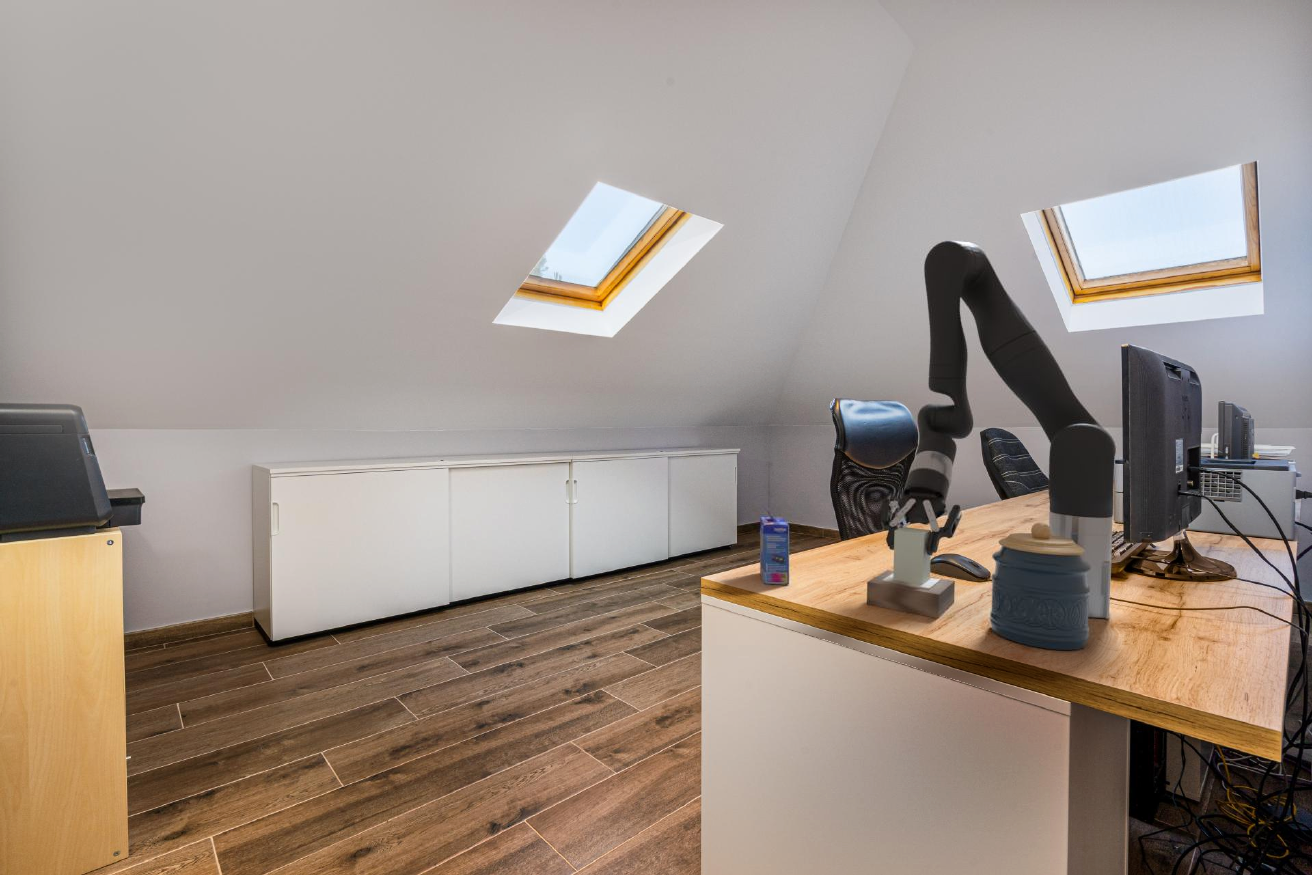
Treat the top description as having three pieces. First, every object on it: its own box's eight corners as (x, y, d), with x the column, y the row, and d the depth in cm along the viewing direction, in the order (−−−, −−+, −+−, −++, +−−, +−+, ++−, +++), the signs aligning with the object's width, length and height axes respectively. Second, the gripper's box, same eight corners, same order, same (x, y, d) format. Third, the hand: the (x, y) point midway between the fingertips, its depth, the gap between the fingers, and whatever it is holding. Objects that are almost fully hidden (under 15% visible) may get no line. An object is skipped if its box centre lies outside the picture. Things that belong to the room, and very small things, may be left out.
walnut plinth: (954, 602, 111) (954, 579, 110) (938, 618, 101) (939, 592, 101) (887, 590, 118) (887, 568, 118) (866, 603, 108) (867, 580, 108)
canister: (980, 636, 93) (984, 522, 92) (998, 617, 102) (1002, 513, 102) (1084, 659, 84) (1089, 533, 84) (1092, 635, 94) (1096, 523, 94)
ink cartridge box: (758, 572, 130) (759, 505, 130) (784, 573, 130) (785, 506, 130) (761, 584, 121) (763, 512, 120) (789, 585, 120) (791, 513, 120)
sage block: (929, 579, 110) (931, 530, 110) (922, 584, 106) (924, 533, 106) (901, 574, 113) (902, 526, 113) (893, 579, 109) (894, 530, 109)
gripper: (887, 464, 119) (864, 532, 110) (967, 469, 110) (950, 542, 101) (894, 489, 124) (873, 556, 114) (972, 495, 115) (956, 568, 106)
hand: (909, 549), depth 108 cm, fingers open, 6 cm apart
